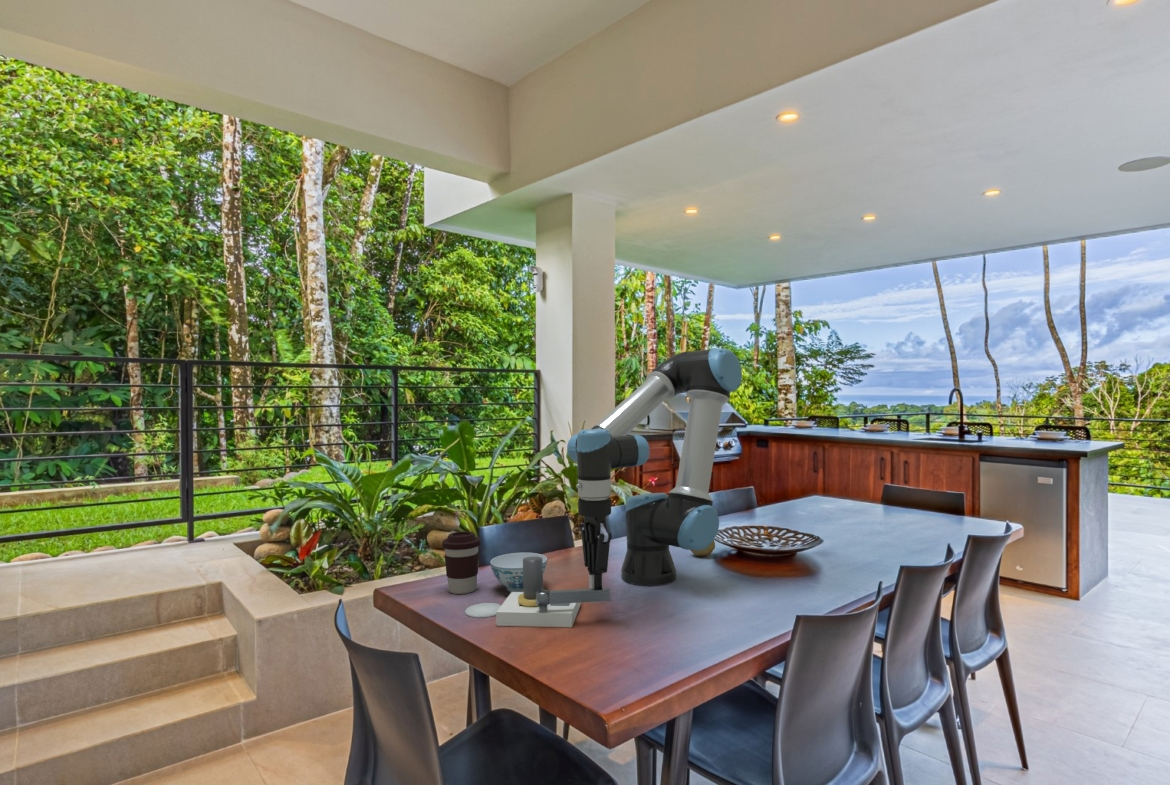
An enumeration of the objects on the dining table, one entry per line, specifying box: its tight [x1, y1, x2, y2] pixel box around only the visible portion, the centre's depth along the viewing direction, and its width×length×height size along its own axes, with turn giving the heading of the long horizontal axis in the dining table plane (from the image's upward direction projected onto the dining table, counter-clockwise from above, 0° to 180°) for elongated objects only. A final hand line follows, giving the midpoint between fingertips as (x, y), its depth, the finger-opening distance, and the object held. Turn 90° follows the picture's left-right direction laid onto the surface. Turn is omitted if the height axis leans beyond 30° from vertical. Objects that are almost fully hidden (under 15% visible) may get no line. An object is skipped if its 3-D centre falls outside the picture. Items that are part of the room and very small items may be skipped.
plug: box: [518, 556, 544, 606], centre depth 140 cm, size 7×7×13 cm
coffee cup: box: [441, 530, 481, 595], centre depth 159 cm, size 10×10×15 cm
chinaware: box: [489, 552, 548, 593], centre depth 159 cm, size 15×15×8 cm
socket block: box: [495, 592, 581, 628], centre depth 139 cm, size 17×14×4 cm
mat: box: [464, 602, 502, 619], centre depth 143 cm, size 9×9×1 cm
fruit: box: [690, 539, 716, 557], centre depth 187 cm, size 8×8×8 cm
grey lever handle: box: [536, 587, 612, 606], centre depth 134 cm, size 17×3×2 cm, turn 94°
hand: (596, 601), depth 136 cm, fingers closed
